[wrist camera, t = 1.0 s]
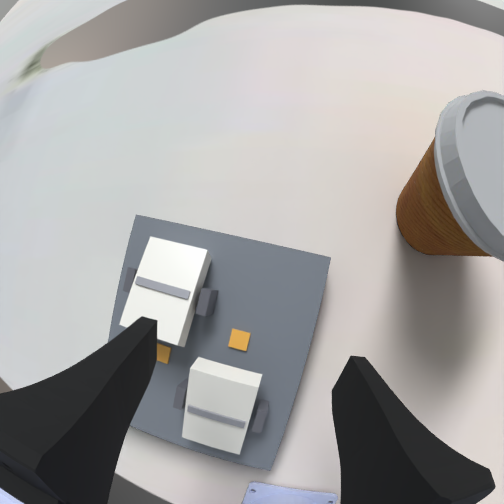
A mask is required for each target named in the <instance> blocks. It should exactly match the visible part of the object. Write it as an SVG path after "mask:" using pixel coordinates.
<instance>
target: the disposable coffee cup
mask: <svg viewBox="0 0 504 504" xmlns="http://www.w3.org/2000/svg"><path fill="white" fill-rule="evenodd" d="M396 215H397V222H398V226H399V229H400V231H401V233H402V235H403V237H404V238H405V240H406V241H407V242H408V243H409V244H410V245H411V246H412V247H413V248H414V249H416V250H417V251H419V252H422V253H424V254H428V255H453V256H490V257H492V256H493V257H495V258H497V259H499V260H502V261H504V96H503V95H501V94H499V93H495V92H490V91H484V90H483V91H479V92H475V93H470V94H469V95H464V96H459V97H457V98H456V99H454V100H452V101H451V102H449V103H448V104H447V106H446V107H445V108H444V110H443V111H442V112H441V114H440V117H439V120H438V123H437V127H436V130H435V138H434V139H433V141H432V143H431V145H430V146H429V148H428V150H427V151H426V153H425V155H424V156H423V158H422V160H421V161H420V163H419V165H418V166H417V168H416V170H415V171H414V173H413V174H412V176H411V178H410V179H409V181H408V182H407V184H406V186H405V187H404V189H403V190H402V192H401V194H400V196H399V198H398V202H397V208H396Z"/></svg>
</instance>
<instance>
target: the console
mask: <svg viewBox="0 0 504 504" xmlns="http://www.w3.org/2000/svg"><path fill="white" fill-rule="evenodd" d="M150 236H151V237H155V238H160V239H164V240H168V241H172V242H176V243H181V244H185V245H189V246H193V247H198V248H202V249H206V250H208V252H209V254H210V256H211V258H212V259H211V262H210V265H209V268H208V272H207V275H206V278H205V281H204V284H203V287H202V288H201V293H200V297H199V300H198V304H197V307H196V310H195V313H194V317H193V320H192V323H191V327H190V330H189V333H188V337H187V340H186V344H185V347H181V346H178V345H175V344H172V343H169V342H166V341H163V340H160V339H157V361H156V365H155V368H154V371H153V374H152V377H151V380H150V383H149V385H148V387H147V389H146V391H145V393H144V396H143V398H142V400H141V402H140V404H139V406H138V408H137V410H136V413H135V415H134V417H133V419H132V421H131V423H130V426H132V427H135V428H137V429H139V430H141V431H144V432H146V433H149V434H151V435H153V436H156V437H158V438H161V439H164V440H166V441H169V442H171V443H174V444H177V445H180V446H183V447H185V448H188V449H191V450H194V451H197V452H200V453H204V454H207V455H210V456H213V457H217V458H220V459H224V460H227V461H231V462H235V463H239V464H243V465H247V466H251V467H255V468H260V469H265V470H269V471H270V470H271V468H272V465H273V462H274V460H275V457H276V454H277V451H278V448H279V445H280V442H281V440H282V437H283V434H284V431H285V428H286V425H287V422H288V419H289V415H290V412H291V409H292V406H293V403H294V400H295V396H296V393H297V390H298V386H299V383H300V380H301V376H302V373H303V369H304V366H305V362H306V359H307V355H308V351H309V348H310V344H311V340H312V336H313V332H314V329H315V325H316V321H317V317H318V313H319V309H320V304H321V300H322V296H323V292H324V287H325V283H326V279H327V274H328V269H329V265H330V260H331V257H327V256H322V255H318V254H314V253H309V252H305V251H300V250H296V249H292V248H287V247H283V246H278V245H274V244H269V243H265V242H260V241H256V240H251V239H247V238H242V237H238V236H233V235H229V234H224V233H220V232H215V231H211V230H206V229H201V228H197V227H192V226H187V225H183V224H178V223H173V222H169V221H164V220H159V219H155V218H150V217H145V216H140V215H136V217H135V220H134V224H133V228H132V231H131V235H130V239H129V243H128V247H127V251H126V255H125V259H124V263H123V267H122V272H121V276H120V281H119V285H118V290H117V295H116V300H115V305H114V310H113V316H112V321H111V327H110V333H109V339H108V342H109V341H111V340H112V339H113V338H115V337H116V336H117V335H119V334H120V333H121V332H122V331H124V330H125V329H126V328H127V327H124V326H122V325H119V324H120V320H121V317H122V314H123V311H124V308H125V305H126V302H127V299H128V296H129V293H130V290H131V287H132V284H133V282H134V279H135V276H136V273H137V270H138V268H139V265H140V262H141V260H142V257H143V254H144V252H145V249H146V247H147V244H148V241H149V239H150ZM198 357H201V358H204V359H207V360H211V361H214V362H218V363H221V364H225V365H228V366H232V367H236V368H239V369H243V370H247V371H251V372H255V373H259V374H262V377H261V381H260V385H259V389H258V392H257V396H256V400H255V403H254V407H253V410H252V414H251V417H250V421H249V424H248V428H247V431H246V435H245V438H244V442H243V445H242V448H241V451H240V455H239V454H235V453H231V452H228V451H224V450H221V449H217V448H214V447H210V446H207V445H204V444H201V443H198V442H195V441H192V440H189V439H186V438H183V437H182V431H183V422H184V413H185V405H186V396H187V388H188V380H189V373H190V368H191V366H192V365H193V364H194V362H195V361H196V359H197V358H198Z"/></svg>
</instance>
